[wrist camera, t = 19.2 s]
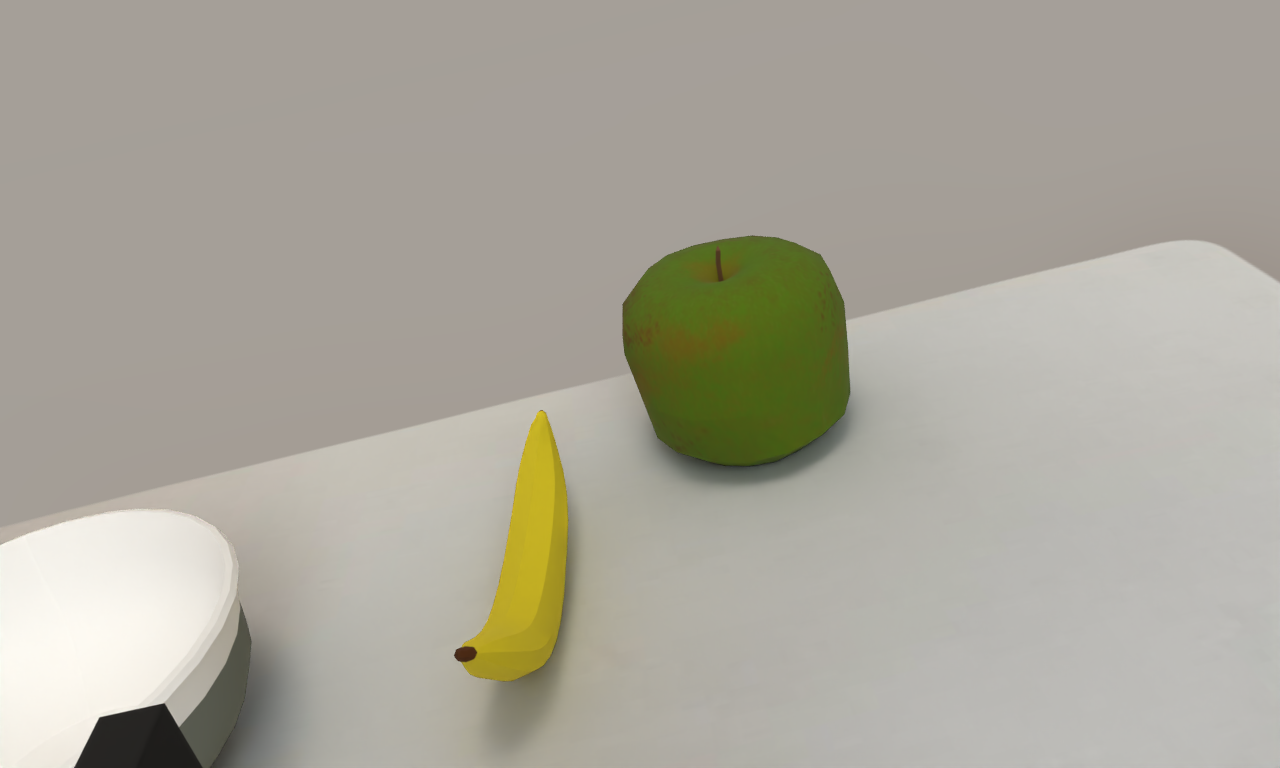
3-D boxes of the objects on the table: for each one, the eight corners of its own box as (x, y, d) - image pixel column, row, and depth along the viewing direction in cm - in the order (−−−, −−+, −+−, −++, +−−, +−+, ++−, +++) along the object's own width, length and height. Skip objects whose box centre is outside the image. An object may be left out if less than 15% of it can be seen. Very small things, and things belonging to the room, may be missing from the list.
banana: (593, 484, 59) (562, 380, 56) (549, 772, 43) (502, 648, 40) (539, 492, 60) (506, 390, 57) (475, 781, 43) (424, 659, 40)
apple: (872, 374, 63) (846, 190, 57) (841, 491, 54) (807, 287, 49) (682, 381, 67) (642, 210, 62) (625, 491, 58) (573, 303, 53)
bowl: (-221, 1120, 37) (-382, 967, 33) (-95, 743, 53) (-194, 610, 49) (331, 875, 41) (243, 712, 37) (294, 591, 57) (230, 456, 53)
